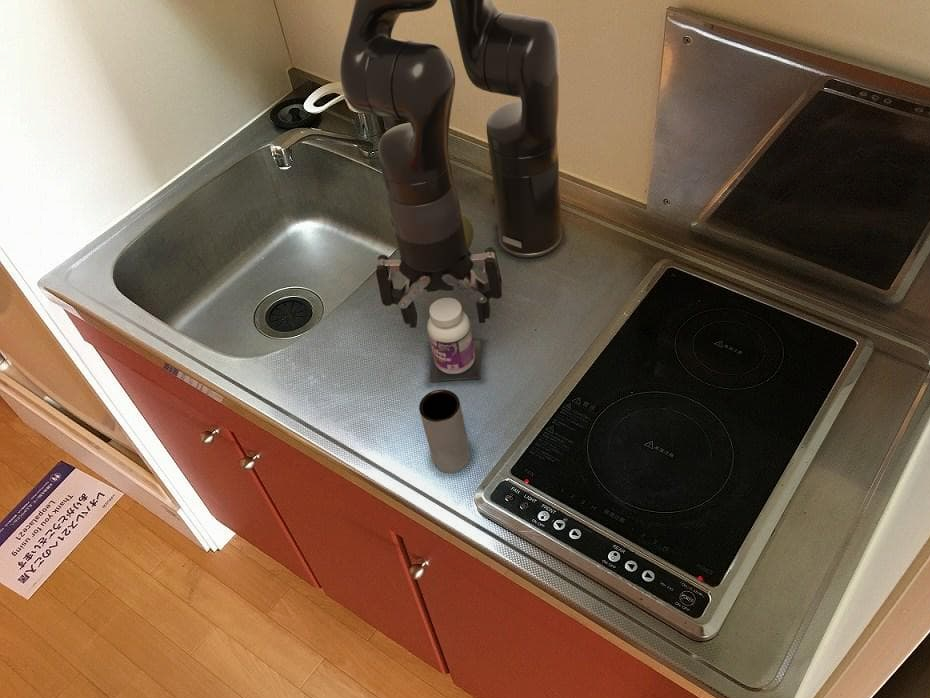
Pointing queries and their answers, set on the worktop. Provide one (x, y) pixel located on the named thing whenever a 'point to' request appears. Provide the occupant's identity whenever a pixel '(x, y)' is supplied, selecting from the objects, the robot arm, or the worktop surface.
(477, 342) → the metal coaster
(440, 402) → the grey hollow cylinder
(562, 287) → the worktop surface
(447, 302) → the pill bottle
